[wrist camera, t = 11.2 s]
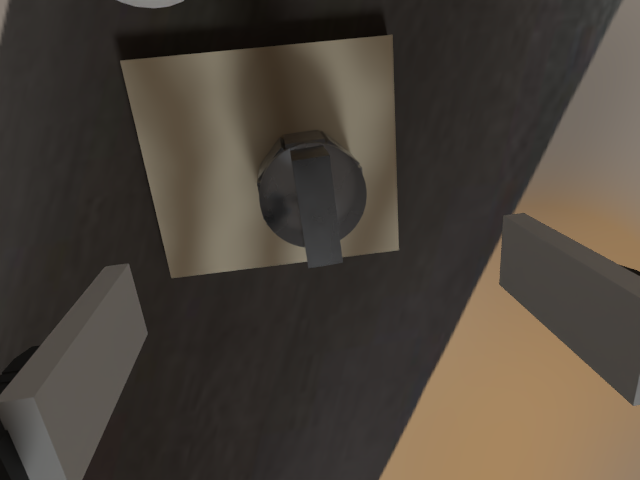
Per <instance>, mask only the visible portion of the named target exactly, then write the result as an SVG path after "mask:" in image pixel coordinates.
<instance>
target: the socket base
mask: <svg viewBox="0 0 640 480" xmlns="http://www.w3.org/2000/svg"><path fill="white" fill-rule="evenodd" d="M120 63H121V67H122V71H123V75H124V80H125V84H126V88H127V92H128V97H129V101H130V105H131V109H132V113H133V118H134V122H135V126H136V130H137V135H138V139H139V143H140V147H141V151H142V156H143V160H144V164H145V168H146V173H147V177H148V181H149V185H150V189H151V194H152V198H153V202H154V206H155V211H156V215H157V219H158V223H159V227H160V232H161V236H162V240H163V244H164V249H165V253H166V257H167V261H168V265H169V270H170V274H171V278H177V277H185V276H193V275H202V274H210V273H218V272H226V271H234V270H242V269H250V268H258V267H266V266H274V265H282V264H291V263H299V262H307V256H306V251H305V247H299V246H296V245H293V244H290V243H288V242H286V241H284V240H283V239H281V238H280V237H279V236H277V235H276V234H275V233H274V232H273V231H272V230H271V229H270V227H269V226H268V225H267V224H266V221H265V220H264V219H263V215H262V212H261V208H260V202H259V192H258V187H257V179H258V172H259V167H260V164H261V162H262V161H263V160H264V158H265V157H266V155H267V154H268V153H269V151H270V150H271V148H272V147H273V146H274V144H275V143H276V141H277V140H278V139H279V137H281V138H282V139H284V134H291V133H297V132H304V131H311V130H319V132H321V131H323V132H325V133H326V134H327V135H328V136H330V137H331V138H332V139H334V140H335V141H336V142H337V143H339V144H340V145H341V146H343V147H344V148H345V149H346V150H348V151H349V152H350V153H351V154H352V155H353V156H354V158H355V159H356V160H357V161H358V162H359V163H360V164H359V165H360V166H361V167H362V172H363V177H364V180H365V183H366V189H367V199H366V206H365V210H364V212H363V215H362V217H361V219H360V221H359V223H358V224H357V225H356V227H355V228H354V229H353V230H352V231H351V232H350V233H349V234H348V235H347V236H346V237H344V238H343V239H341V240H340V243H341V251H342V257H347V256H355V255H363V254H371V253H380V252H388V251H396V250H399V242H398V207H397V173H396V139H395V104H394V70H393V35H385V36H374V37H364V38H354V39H343V40H333V41H322V42H312V43H301V44H291V45H280V46H270V47H259V48H249V49H238V50H228V51H217V52H207V53H196V54H186V55H175V56H165V57H154V58H144V59H133V60H123V61H120Z"/></svg>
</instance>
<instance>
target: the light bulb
mask: <svg viewBox="0 0 640 480" xmlns="http://www.w3.org/2000/svg"><path fill="white" fill-rule="evenodd" d="M117 1H119V2H122V3H125V4H129V5H132V6H136V7H147V8H160V7H168V6H172V5H174V4H177V3H180V2H182V1H184V0H117Z"/></svg>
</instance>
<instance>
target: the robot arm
mask: <svg viewBox="0 0 640 480" xmlns="http://www.w3.org/2000/svg"><path fill="white" fill-rule="evenodd" d="M501 249H502V250H501V265H500V282H499V284H500V285H501V286H502V287H503V288H504V289H505V290H506V291H507V292H508V293H509V294H510V295H512V296H513V297H514V298H515V299H516V300H517V301H518V302H519V303H520V304H521V305H523V306H524V307H525V308H526V309H527V310H528V311H529V312H530V313H531V314H533V315H534V316H535V317H536V318H537V319H538V320H539V321H540V322H541V323H542V324H543V325H545V326H546V327H547V328H548V329H549V330H550V331H551V332H552V333H553V334H555V335H556V336H557V337H558V338H559V339H560V340H561V341H562V342H563V343H565V344H566V345H567V346H568V347H569V348H570V349H571V350H572V351H573V352H574V353H576V354H577V355H578V356H579V357H580V358H581V359H582V360H583V361H584V362H585V363H586V364H588V365H589V366H590V367H591V368H592V369H593V370H594V371H595V372H596V373H598V374H599V375H600V376H601V377H602V378H603V379H604V380H605V381H606V382H607V383H609V384H610V385H611V386H612V387H613V388H614V389H615V390H616V391H617V392H618V393H620V394H621V395H622V396H623V397H624V398H625V399H626V400H627V401H628V402H629V403H631V404H632V405H633V406H635V405H640V272H639V271H637V270H634V269H630V268H627V267H625V266H621V265H618V264H616V263H615V262H613V261H611V260H609V259H607V258H605V257H604V256H602V255H600V254H598V253H596V252H594V251H593V250H591V249H589V248H587V247H585V246H583V245H581V244H580V243H578V242H576V241H574V240H572V239H571V238H569V237H567V236H565V235H563V234H561V233H559V232H557V231H556V230H554V229H552V228H550V227H549V226H546V225H545V224H543V223H541V222H539V221H537V220H536V219H534V218H532V217H530V216H528V215H526V214H525V213H521V214H512V215H505V216H503V231H502V248H501ZM147 334H148V333H147V329H146V325H145V322H144V318H143V314H142V311H141V307H140V303H139V300H138V296H137V292H136V288H135V285H134V281H133V277H132V274H131V270H130V266H129V263H128V264H121V265H113V266H105V268H104V269H103V270H102V271H101V272H100V274H99V275H98V276H97V277H96V278H95V280H94V281H93V282H92V283H91V285H90V286H89V287H88V288H87V289H86V291H85V292H84V293H83V294H82V296H81V297H80V298H79V299H78V300H77V302H76V303H75V304H74V305H73V307H72V308H71V309H70V310H69V311H68V313H67V314H66V315H65V316H64V318H63V319H62V320H61V321H60V322H59V324H58V325H57V326H56V327H55V329H54V330H53V331H52V332H51V333H50V335H49V336H48V337H47V338H46V339H45V341H44V342H43V343H42V344H41V346H34V347H31V348H29V349H28V350H26V351H25V352H24V353H22V354H21V355H19V356H18V357H16V358H15V359H14V360H13V361H12V362H11V363H10V364H9V365H8V367H7V368H6V369H5V370H4V371H3V372H2V375H0V480H82V479H83V477H84V474H85V472H86V470H87V468H88V466H89V463H90V461H91V459H92V457H93V454H94V452H95V450H96V448H97V445H98V443H99V441H100V439H101V437H102V434H103V432H104V430H105V428H106V425H107V423H108V421H109V419H110V416H111V414H112V412H113V410H114V408H115V405H116V403H117V401H118V399H119V396H120V394H121V392H122V390H123V387H124V385H125V383H126V381H127V379H128V376H129V374H130V372H131V370H132V367H133V365H134V363H135V361H136V358H137V356H138V354H139V352H140V349H141V347H142V345H143V343H144V341H145V338H146V336H147Z"/></svg>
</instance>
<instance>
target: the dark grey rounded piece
mask: <svg viewBox="0 0 640 480" xmlns="http://www.w3.org/2000/svg"><path fill="white" fill-rule="evenodd" d="M359 164H360V163H359V162H358V161H357V160H356V159H355V158H354V156H353V155H352V154H351V153H350V152H349V151H348V150H346V149H345V148H344V147H343V146H341V145H340V144H339V143H337V142H336V141H335V140H334V139H332V138H331V137H330V136H328V135H327V134H326V133H325V132H323V131H321V132H319V130H311V131H304V132H297V133H291V134H284V139H282V138H281V137H279V139H278V140H277V141H276V143H275V144H274V146H273V147H272V148H271V150H270V151H269V153H268V154H267V155H266V157H265V158H264V160H263V161H262V162H261V164H260V167H259V172H258V179H257V187H258V192H259V202H260V208H261V212H262V215H263V219H264V220H265V221H266V224H267V225H268V226H269V227H270V229H271V230H272V231H273V232H274V233H275V234H276V235H277V236H279V237H280V238H281V239H283V240H284V241H286V242H288V243H290V244H293V245H296V246H299V247H305V251H306V256H307V262H308V268H312V267H319V266H325V265H331V264H337V263H343V259H342V251H341V243H340V240H341V239H343V238H344V237H346V236H347V235H348V234H349V233H350V232H351V231H352V230H353V229H354V228H355V227H356V225H357V224H358V223H359V221H360V219H361V217H362V215H363V212H364V210H365V206H366V199H367V189H366V183H365V180H364V177H363V172H362V167H361V166H360V165H359Z"/></svg>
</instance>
